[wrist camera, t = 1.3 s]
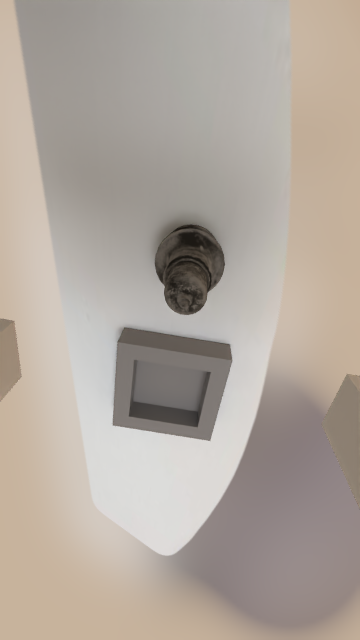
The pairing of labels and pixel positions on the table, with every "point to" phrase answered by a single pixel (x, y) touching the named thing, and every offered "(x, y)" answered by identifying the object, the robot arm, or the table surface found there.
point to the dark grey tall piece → (189, 267)
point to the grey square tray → (169, 383)
